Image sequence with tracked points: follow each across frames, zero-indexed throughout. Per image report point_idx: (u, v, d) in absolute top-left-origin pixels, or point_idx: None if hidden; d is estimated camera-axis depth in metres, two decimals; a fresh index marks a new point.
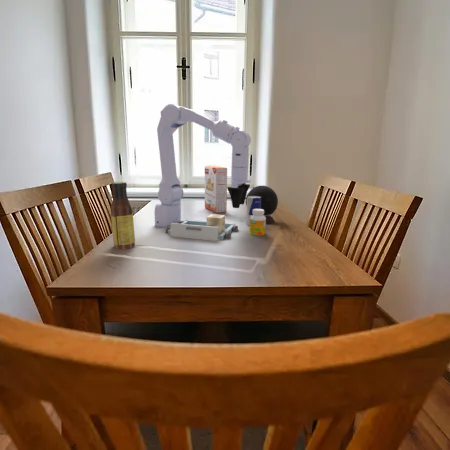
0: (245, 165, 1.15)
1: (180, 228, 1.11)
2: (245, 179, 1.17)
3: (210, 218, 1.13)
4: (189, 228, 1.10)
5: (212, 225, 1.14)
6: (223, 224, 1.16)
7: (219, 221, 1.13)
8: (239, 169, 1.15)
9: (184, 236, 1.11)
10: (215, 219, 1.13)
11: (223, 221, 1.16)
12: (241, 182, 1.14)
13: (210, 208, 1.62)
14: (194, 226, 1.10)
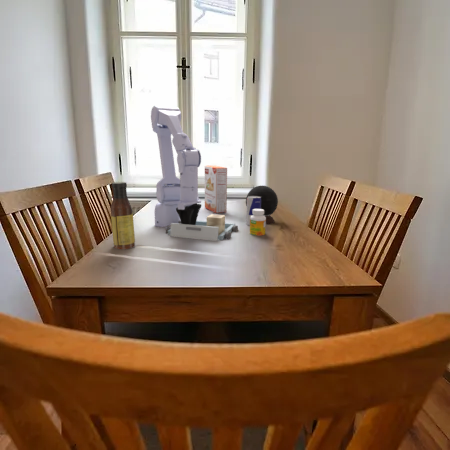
0: (187, 185, 1.09)
1: (180, 228, 1.11)
2: (194, 199, 1.11)
3: (210, 218, 1.13)
4: (189, 228, 1.10)
5: (212, 225, 1.14)
6: (223, 224, 1.16)
7: (219, 221, 1.13)
8: (187, 189, 1.10)
9: (184, 236, 1.11)
10: (215, 219, 1.13)
11: (223, 221, 1.16)
12: (189, 203, 1.09)
13: (210, 208, 1.62)
14: (194, 226, 1.09)
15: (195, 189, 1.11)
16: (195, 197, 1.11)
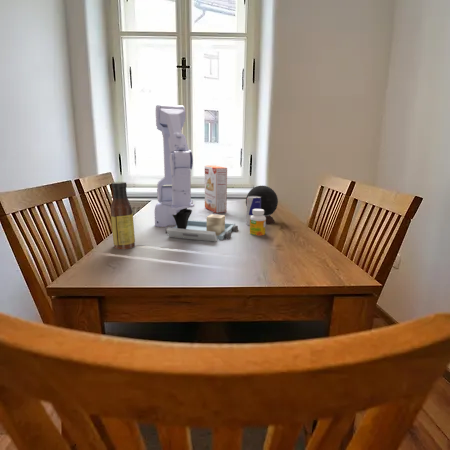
0: (177, 188, 1.03)
1: (177, 233, 1.09)
2: (187, 204, 1.05)
3: (210, 218, 1.13)
4: (186, 235, 1.07)
5: (212, 225, 1.14)
6: (223, 224, 1.16)
7: (219, 221, 1.13)
8: (179, 193, 1.04)
9: None
10: (215, 219, 1.13)
11: (223, 221, 1.16)
12: (181, 208, 1.03)
13: (210, 208, 1.62)
14: (190, 233, 1.07)
15: (188, 193, 1.05)
16: (188, 201, 1.05)
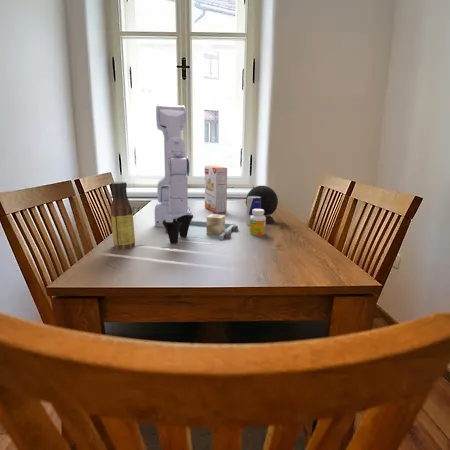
0: (174, 196, 1.02)
1: None
2: (184, 211, 1.03)
3: (210, 218, 1.13)
4: None
5: (212, 225, 1.14)
6: (223, 224, 1.16)
7: (219, 221, 1.13)
8: (176, 200, 1.02)
9: None
10: (215, 219, 1.13)
11: (223, 221, 1.16)
12: (178, 215, 1.01)
13: (210, 208, 1.62)
14: None
15: (185, 200, 1.03)
16: (185, 208, 1.04)
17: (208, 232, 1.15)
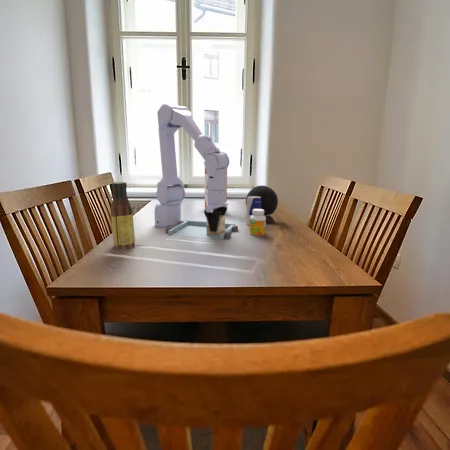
0: (218, 188, 1.10)
1: None
2: (222, 202, 1.12)
3: None
4: None
5: None
6: (223, 224, 1.16)
7: (219, 221, 1.13)
8: (215, 192, 1.11)
9: None
10: None
11: (223, 221, 1.16)
12: (217, 206, 1.10)
13: None
14: None
15: (223, 192, 1.12)
16: (222, 200, 1.12)
17: (208, 232, 1.15)
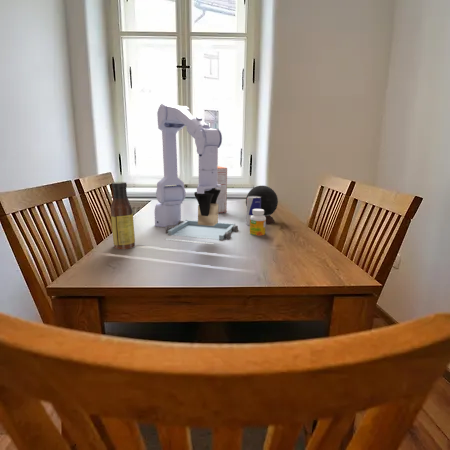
0: (207, 167, 1.00)
1: None
2: (214, 183, 1.02)
3: None
4: None
5: None
6: (216, 213, 1.06)
7: (212, 210, 1.03)
8: (206, 172, 1.00)
9: None
10: None
11: (216, 210, 1.06)
12: (209, 187, 1.00)
13: None
14: None
15: (215, 172, 1.01)
16: (215, 181, 1.02)
17: (200, 222, 1.05)
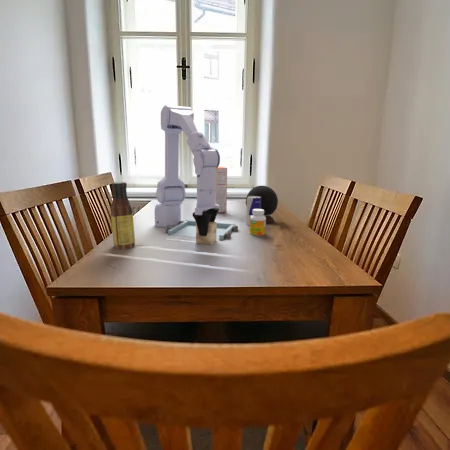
0: (205, 188, 1.00)
1: None
2: (212, 204, 1.02)
3: None
4: None
5: None
6: (214, 232, 1.06)
7: (210, 229, 1.03)
8: (205, 193, 1.00)
9: None
10: None
11: (214, 228, 1.06)
12: (207, 208, 1.00)
13: None
14: None
15: (213, 192, 1.02)
16: (213, 201, 1.02)
17: (198, 240, 1.05)
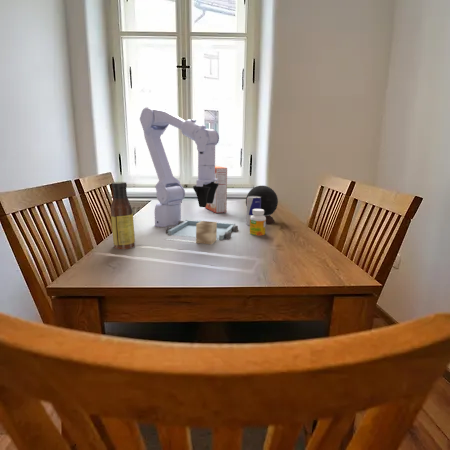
0: (209, 163, 1.13)
1: None
2: (212, 178, 1.14)
3: (200, 225, 1.04)
4: None
5: (202, 232, 1.04)
6: (214, 232, 1.06)
7: (210, 228, 1.03)
8: (205, 167, 1.13)
9: None
10: (205, 226, 1.03)
11: (214, 228, 1.06)
12: (207, 181, 1.12)
13: (210, 208, 1.62)
14: None
15: (213, 167, 1.14)
16: (212, 175, 1.14)
17: (198, 240, 1.05)
